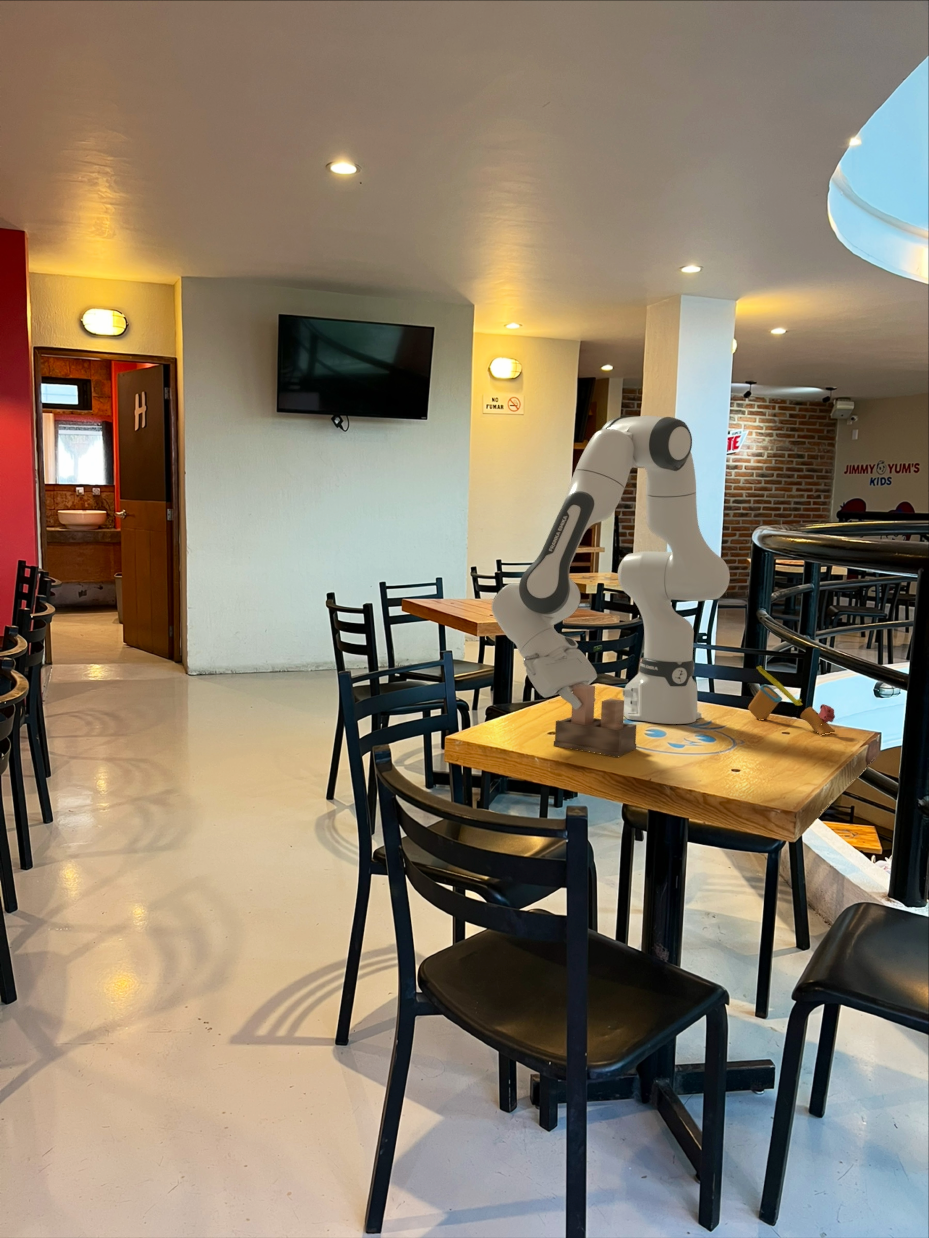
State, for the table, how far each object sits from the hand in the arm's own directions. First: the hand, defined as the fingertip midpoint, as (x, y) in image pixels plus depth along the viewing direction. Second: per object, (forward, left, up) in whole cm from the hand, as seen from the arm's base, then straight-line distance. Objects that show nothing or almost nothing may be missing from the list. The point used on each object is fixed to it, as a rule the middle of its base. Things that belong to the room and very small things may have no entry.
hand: (586, 705), depth 184 cm
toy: (-9, +55, -9) cm, 56 cm away
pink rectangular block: (0, 0, -5) cm, 5 cm away
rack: (+2, +2, -8) cm, 9 cm away
